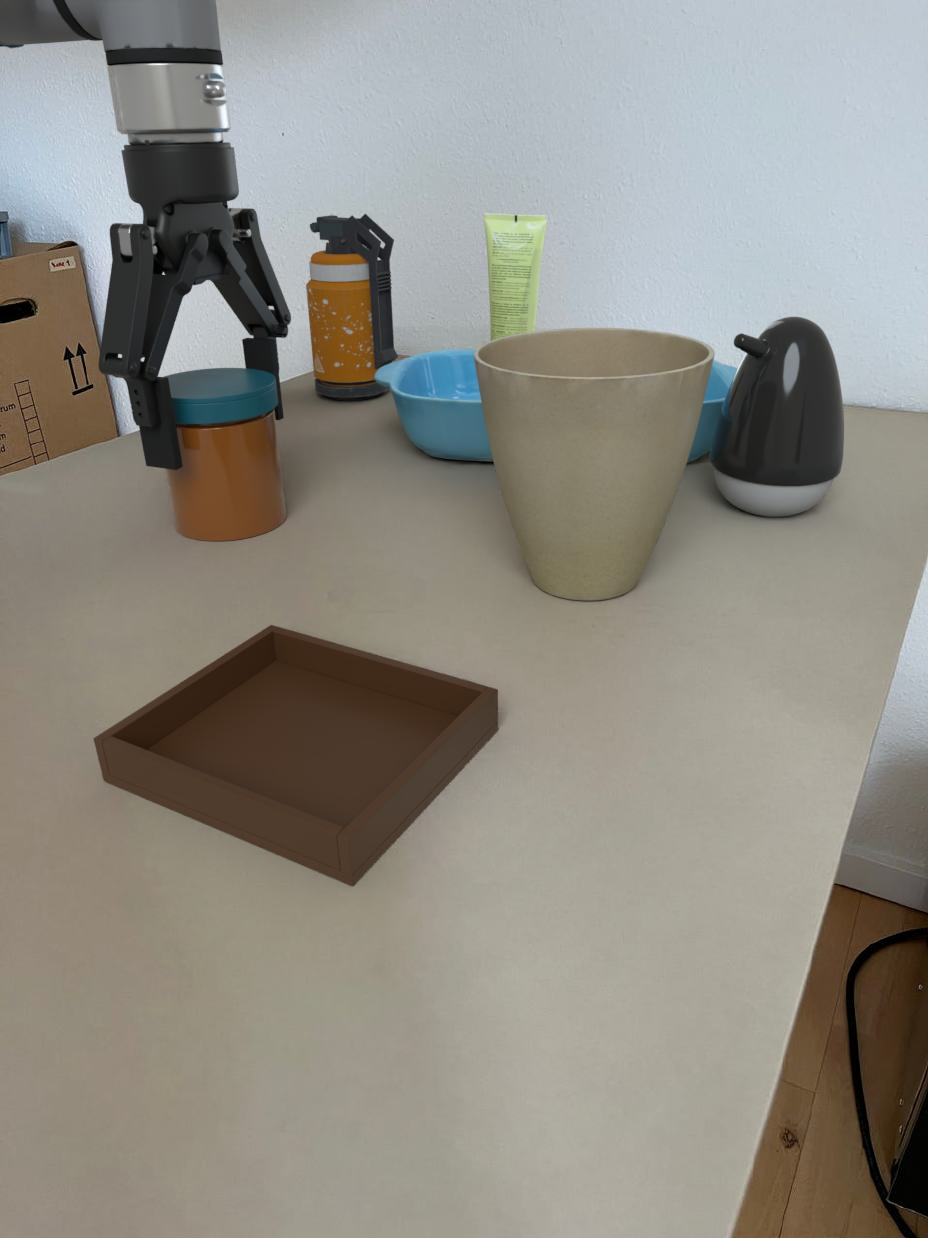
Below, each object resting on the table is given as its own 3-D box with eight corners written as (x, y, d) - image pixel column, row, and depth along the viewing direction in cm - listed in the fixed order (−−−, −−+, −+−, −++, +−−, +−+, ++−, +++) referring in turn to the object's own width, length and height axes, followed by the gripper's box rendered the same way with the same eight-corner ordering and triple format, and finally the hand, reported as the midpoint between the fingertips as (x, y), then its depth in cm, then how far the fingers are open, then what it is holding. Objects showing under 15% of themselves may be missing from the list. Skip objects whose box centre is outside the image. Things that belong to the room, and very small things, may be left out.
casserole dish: (726, 411, 104) (733, 345, 100) (768, 478, 84) (779, 399, 81) (395, 409, 106) (392, 345, 103) (360, 474, 87) (355, 397, 83)
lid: (304, 399, 74) (302, 375, 74) (217, 431, 67) (214, 404, 66) (213, 385, 79) (210, 362, 78) (122, 414, 72) (118, 389, 71)
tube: (526, 380, 118) (528, 210, 108) (543, 389, 113) (547, 213, 104) (484, 384, 116) (483, 212, 107) (500, 394, 112) (500, 216, 102)
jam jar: (151, 528, 76) (126, 398, 71) (227, 494, 83) (210, 373, 78) (235, 549, 72) (216, 413, 67) (308, 511, 79) (295, 384, 74)
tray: (103, 781, 47) (92, 738, 45) (275, 662, 57) (270, 624, 55) (352, 887, 40) (348, 839, 39) (498, 730, 50) (498, 689, 49)
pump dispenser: (678, 496, 80) (696, 312, 73) (776, 478, 84) (802, 301, 77) (756, 538, 72) (784, 335, 65) (860, 516, 76) (898, 321, 69)
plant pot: (647, 530, 74) (663, 321, 66) (725, 616, 61) (756, 368, 53) (460, 546, 72) (455, 331, 64) (500, 638, 59) (500, 384, 51)
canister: (350, 380, 119) (338, 208, 109) (419, 392, 113) (412, 212, 104) (300, 396, 112) (282, 215, 103) (370, 409, 107) (358, 219, 97)
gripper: (90, 142, 53) (155, 498, 63) (317, 134, 73) (339, 404, 83) (-9, 144, 56) (68, 485, 65) (237, 136, 76) (267, 397, 86)
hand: (220, 440), depth 74 cm, fingers open, 13 cm apart
